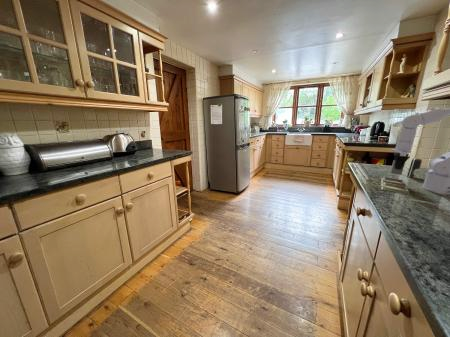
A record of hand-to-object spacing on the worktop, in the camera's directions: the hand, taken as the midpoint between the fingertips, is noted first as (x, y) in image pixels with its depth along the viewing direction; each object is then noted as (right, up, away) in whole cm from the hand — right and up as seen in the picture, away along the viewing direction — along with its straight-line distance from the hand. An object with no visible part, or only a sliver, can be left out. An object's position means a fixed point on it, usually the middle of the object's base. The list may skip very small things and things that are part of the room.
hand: (397, 168), depth 94 cm
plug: (0, -2, +1) cm, 3 cm away
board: (-4, -9, -2) cm, 10 cm away
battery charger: (+20, -6, +14) cm, 25 cm away
